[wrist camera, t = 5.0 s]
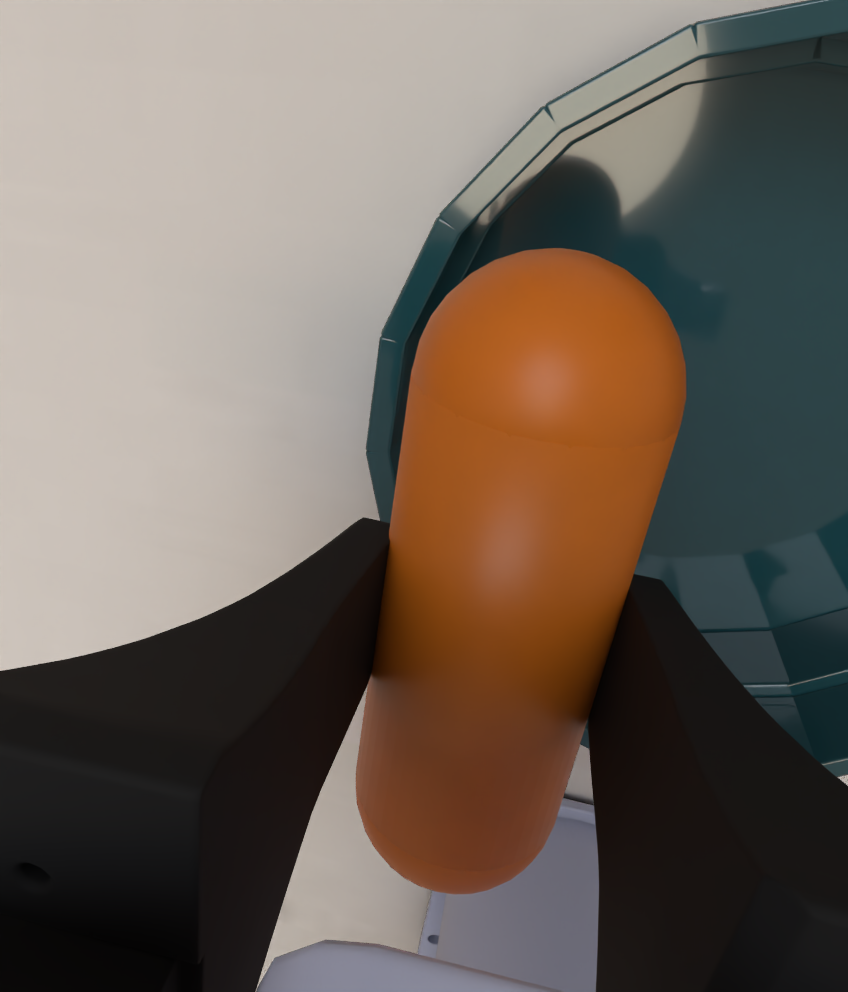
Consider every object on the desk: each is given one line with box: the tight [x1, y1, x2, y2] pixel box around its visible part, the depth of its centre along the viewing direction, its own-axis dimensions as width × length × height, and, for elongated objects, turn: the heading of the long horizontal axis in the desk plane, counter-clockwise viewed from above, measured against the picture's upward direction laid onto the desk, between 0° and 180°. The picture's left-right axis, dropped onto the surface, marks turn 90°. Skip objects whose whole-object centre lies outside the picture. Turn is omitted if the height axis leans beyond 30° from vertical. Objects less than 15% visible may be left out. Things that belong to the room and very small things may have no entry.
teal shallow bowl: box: [366, 0, 848, 777], centre depth 17 cm, size 15×15×5 cm
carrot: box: [356, 248, 686, 894], centre depth 12 cm, size 11×4×4 cm, turn 172°
